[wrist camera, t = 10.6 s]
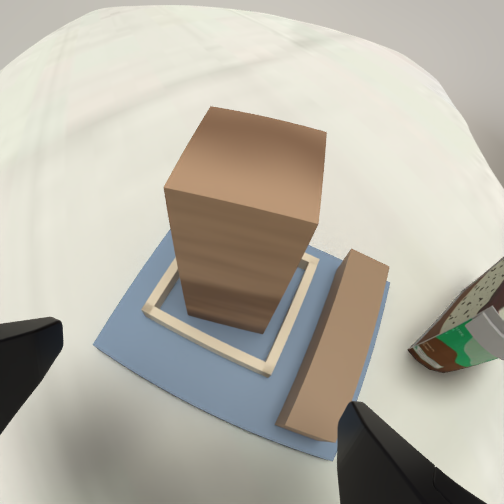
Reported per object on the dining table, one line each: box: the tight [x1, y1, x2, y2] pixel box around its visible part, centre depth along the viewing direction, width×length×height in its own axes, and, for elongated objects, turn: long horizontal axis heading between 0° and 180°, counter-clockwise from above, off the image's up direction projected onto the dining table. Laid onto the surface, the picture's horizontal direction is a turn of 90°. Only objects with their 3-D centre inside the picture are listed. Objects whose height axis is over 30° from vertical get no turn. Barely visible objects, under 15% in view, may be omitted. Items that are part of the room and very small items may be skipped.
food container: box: [408, 257, 504, 373], centre depth 17 cm, size 12×6×10 cm, turn 123°
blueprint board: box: [93, 229, 390, 461], centre depth 19 cm, size 14×17×4 cm
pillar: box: [164, 106, 327, 334], centre depth 16 cm, size 5×5×12 cm
